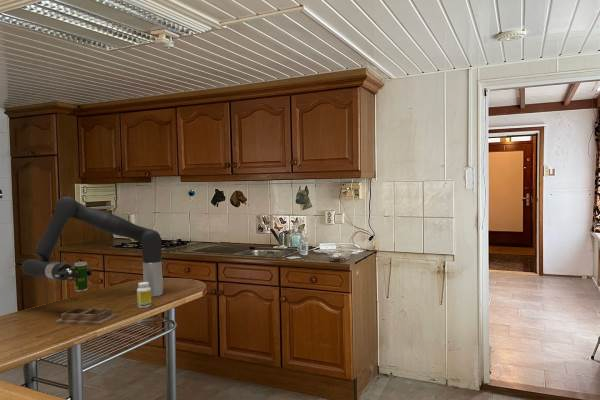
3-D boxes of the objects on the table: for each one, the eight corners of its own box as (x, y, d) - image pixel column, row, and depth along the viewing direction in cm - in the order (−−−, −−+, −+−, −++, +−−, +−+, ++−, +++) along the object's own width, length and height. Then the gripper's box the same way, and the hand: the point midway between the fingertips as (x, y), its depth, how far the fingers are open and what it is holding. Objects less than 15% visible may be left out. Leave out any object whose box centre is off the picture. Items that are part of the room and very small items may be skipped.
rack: (55, 323, 185) (54, 315, 185) (74, 314, 197) (73, 306, 197) (100, 325, 182) (100, 316, 181) (117, 315, 193) (117, 308, 193)
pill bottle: (154, 304, 209) (153, 281, 209) (145, 308, 203) (144, 284, 203) (143, 303, 211) (142, 281, 211) (134, 307, 206) (133, 284, 205)
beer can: (85, 287, 196) (84, 261, 195) (90, 289, 193) (89, 262, 192) (72, 290, 192) (71, 262, 191) (77, 292, 189) (76, 264, 188)
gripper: (43, 265, 191) (69, 269, 184) (72, 260, 204) (98, 263, 197) (43, 282, 192) (70, 287, 185) (73, 276, 205) (99, 279, 198)
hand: (84, 274), depth 191 cm, fingers closed on beer can, 5 cm apart
